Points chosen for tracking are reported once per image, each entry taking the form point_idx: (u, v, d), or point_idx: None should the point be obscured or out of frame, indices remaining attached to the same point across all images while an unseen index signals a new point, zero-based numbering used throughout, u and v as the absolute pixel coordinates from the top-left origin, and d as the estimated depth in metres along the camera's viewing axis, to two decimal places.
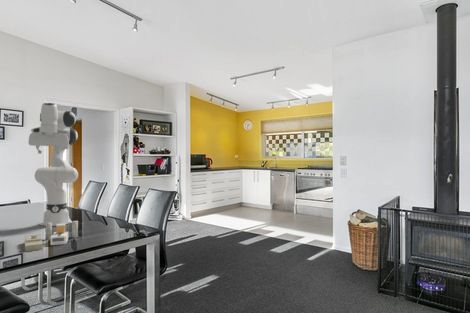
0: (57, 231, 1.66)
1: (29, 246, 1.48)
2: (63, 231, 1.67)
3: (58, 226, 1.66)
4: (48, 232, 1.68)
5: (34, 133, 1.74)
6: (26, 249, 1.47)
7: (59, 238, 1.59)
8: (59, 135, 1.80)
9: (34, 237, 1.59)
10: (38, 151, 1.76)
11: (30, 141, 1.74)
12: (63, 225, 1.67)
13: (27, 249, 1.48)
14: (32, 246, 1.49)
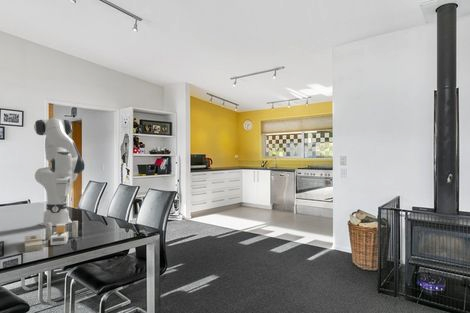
0: (57, 231, 1.66)
1: (29, 246, 1.48)
2: (63, 231, 1.67)
3: (58, 226, 1.66)
4: (48, 232, 1.68)
5: (67, 184, 1.71)
6: (26, 249, 1.47)
7: (59, 238, 1.59)
8: None
9: (34, 237, 1.59)
10: (64, 202, 1.72)
11: (65, 192, 1.69)
12: (63, 225, 1.67)
13: (27, 249, 1.47)
14: (32, 246, 1.48)
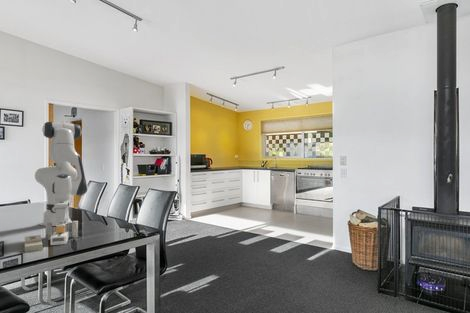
0: (57, 231, 1.66)
1: (29, 247, 1.47)
2: (63, 231, 1.67)
3: (58, 226, 1.66)
4: (48, 232, 1.68)
5: (66, 208, 1.69)
6: (26, 250, 1.46)
7: (59, 238, 1.59)
8: None
9: (34, 238, 1.58)
10: None
11: (64, 217, 1.67)
12: (63, 225, 1.67)
13: (27, 250, 1.47)
14: (32, 247, 1.48)
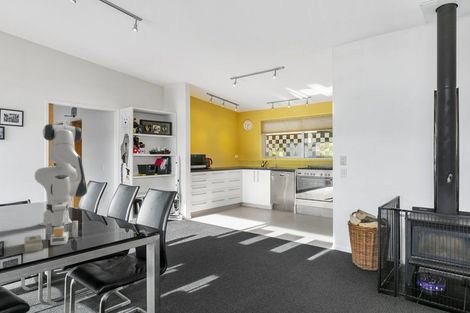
0: (55, 234, 1.59)
1: (29, 247, 1.47)
2: (61, 234, 1.60)
3: (56, 229, 1.59)
4: (48, 232, 1.68)
5: (65, 210, 1.62)
6: (26, 250, 1.46)
7: (59, 238, 1.59)
8: None
9: (34, 238, 1.58)
10: None
11: (63, 219, 1.60)
12: (61, 228, 1.60)
13: (27, 250, 1.46)
14: (32, 247, 1.47)
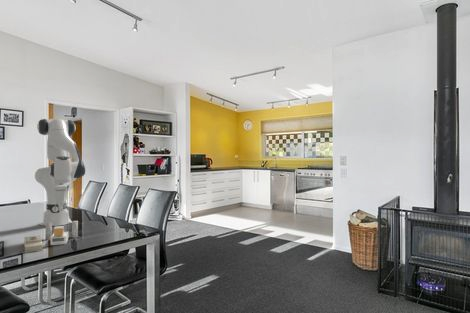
0: (55, 234, 1.59)
1: (29, 247, 1.46)
2: (61, 234, 1.60)
3: (56, 229, 1.59)
4: (48, 232, 1.68)
5: (66, 190, 1.67)
6: (26, 250, 1.45)
7: (59, 238, 1.59)
8: None
9: (34, 238, 1.57)
10: (62, 208, 1.68)
11: (64, 199, 1.65)
12: (61, 228, 1.60)
13: (27, 250, 1.46)
14: (32, 247, 1.47)
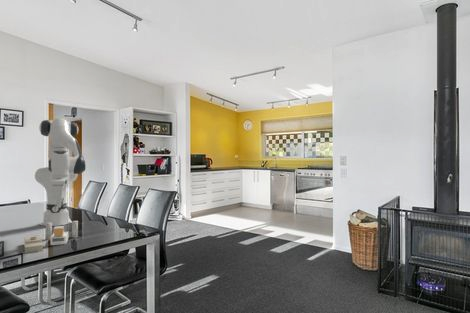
0: (55, 234, 1.59)
1: (29, 247, 1.46)
2: (61, 234, 1.60)
3: (56, 229, 1.59)
4: (48, 232, 1.68)
5: (64, 185, 1.58)
6: (26, 250, 1.45)
7: (59, 238, 1.59)
8: None
9: (34, 238, 1.57)
10: (60, 205, 1.59)
11: (61, 195, 1.56)
12: (61, 228, 1.60)
13: (27, 250, 1.45)
14: (32, 247, 1.46)
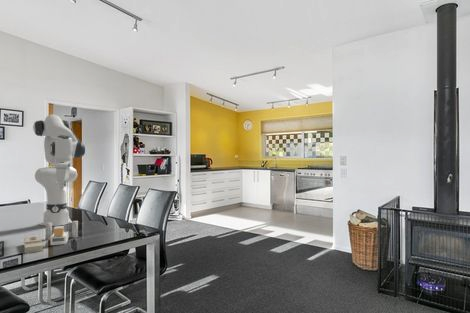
0: (55, 234, 1.59)
1: (29, 248, 1.45)
2: (61, 234, 1.60)
3: (56, 229, 1.59)
4: (48, 232, 1.68)
5: (67, 168, 1.69)
6: (26, 251, 1.45)
7: (59, 238, 1.59)
8: None
9: (34, 238, 1.57)
10: (63, 186, 1.70)
11: (65, 177, 1.67)
12: (61, 228, 1.60)
13: (27, 251, 1.45)
14: (32, 248, 1.46)
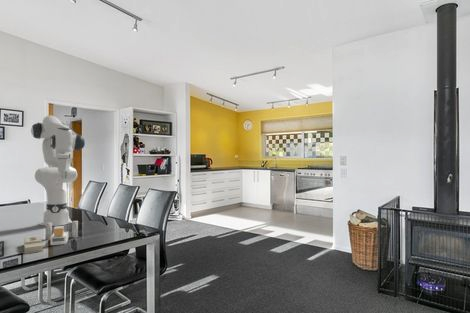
0: (55, 234, 1.59)
1: (29, 248, 1.45)
2: (61, 234, 1.60)
3: (56, 229, 1.59)
4: (48, 232, 1.68)
5: (67, 159, 1.72)
6: (26, 251, 1.44)
7: (59, 238, 1.59)
8: (68, 160, 1.83)
9: (34, 239, 1.56)
10: (64, 177, 1.73)
11: (65, 167, 1.70)
12: (61, 228, 1.60)
13: (27, 251, 1.44)
14: (32, 248, 1.46)
